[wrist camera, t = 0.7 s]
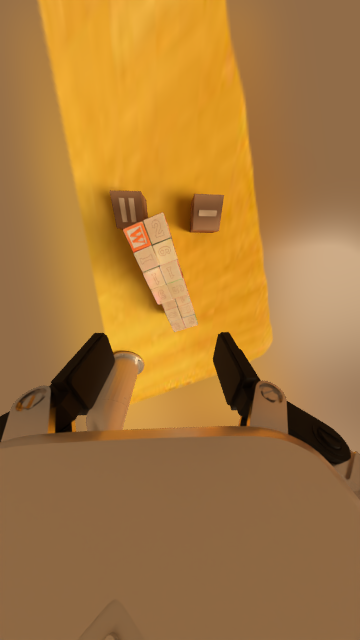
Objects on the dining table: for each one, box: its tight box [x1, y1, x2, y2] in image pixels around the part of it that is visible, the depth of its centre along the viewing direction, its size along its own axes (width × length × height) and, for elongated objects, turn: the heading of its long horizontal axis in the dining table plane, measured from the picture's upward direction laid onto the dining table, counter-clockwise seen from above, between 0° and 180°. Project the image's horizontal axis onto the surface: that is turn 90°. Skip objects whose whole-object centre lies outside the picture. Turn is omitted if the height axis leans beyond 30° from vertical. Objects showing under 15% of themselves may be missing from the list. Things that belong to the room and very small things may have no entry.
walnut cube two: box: [110, 191, 148, 230], centre depth 24 cm, size 5×5×5 cm
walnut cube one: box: [190, 194, 224, 233], centre depth 25 cm, size 5×5×5 cm
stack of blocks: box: [123, 212, 198, 332], centre depth 28 cm, size 21×6×12 cm, turn 18°
